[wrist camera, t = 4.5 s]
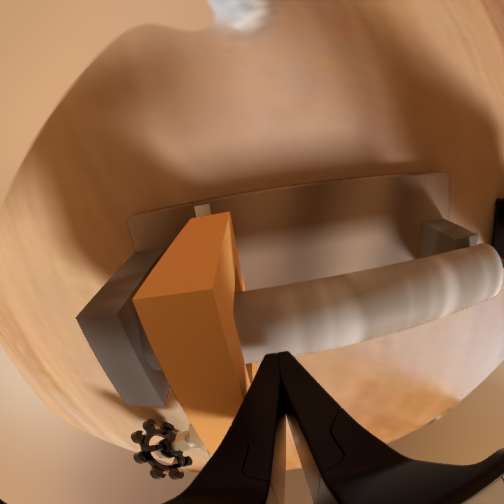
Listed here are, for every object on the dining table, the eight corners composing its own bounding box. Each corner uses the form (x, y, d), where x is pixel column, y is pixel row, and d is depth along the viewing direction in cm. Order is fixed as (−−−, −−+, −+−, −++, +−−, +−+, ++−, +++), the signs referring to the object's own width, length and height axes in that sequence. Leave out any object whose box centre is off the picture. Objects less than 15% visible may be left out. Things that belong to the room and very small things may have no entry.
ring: (230, 211, 14) (212, 288, 6) (255, 341, 16) (262, 456, 9) (190, 218, 14) (132, 299, 6) (223, 345, 16) (214, 459, 9)
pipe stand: (440, 171, 15) (530, 195, 7) (433, 289, 18) (495, 349, 10) (132, 215, 15) (55, 269, 8) (172, 338, 19) (143, 428, 11)
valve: (225, 356, 19) (138, 409, 22) (220, 429, 13) (122, 463, 16) (280, 396, 21) (189, 439, 24) (289, 461, 15) (182, 490, 18)
